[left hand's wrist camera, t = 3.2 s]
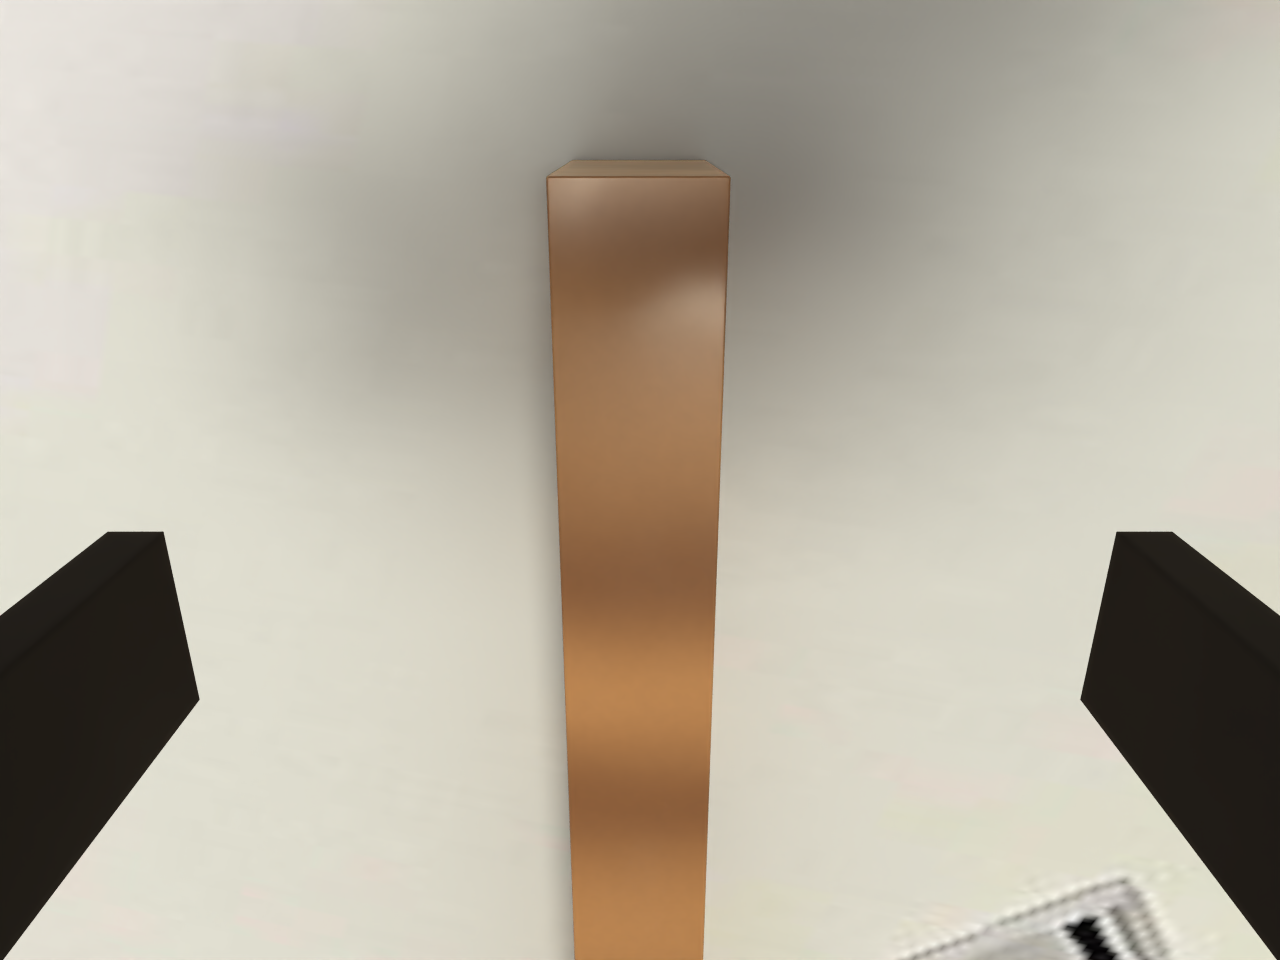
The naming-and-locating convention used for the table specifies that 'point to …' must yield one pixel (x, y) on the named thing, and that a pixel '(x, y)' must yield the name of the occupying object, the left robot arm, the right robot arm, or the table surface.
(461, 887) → the table surface
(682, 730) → the beam
